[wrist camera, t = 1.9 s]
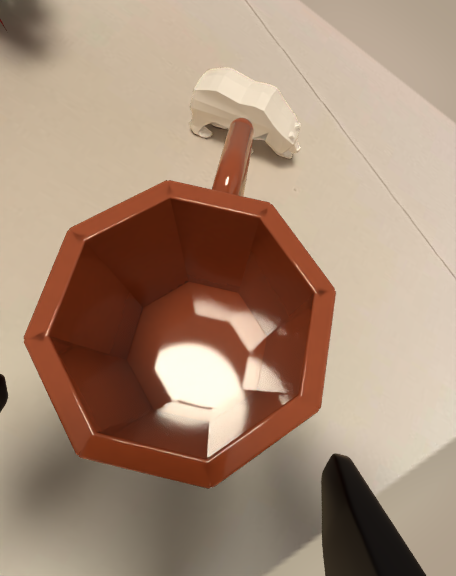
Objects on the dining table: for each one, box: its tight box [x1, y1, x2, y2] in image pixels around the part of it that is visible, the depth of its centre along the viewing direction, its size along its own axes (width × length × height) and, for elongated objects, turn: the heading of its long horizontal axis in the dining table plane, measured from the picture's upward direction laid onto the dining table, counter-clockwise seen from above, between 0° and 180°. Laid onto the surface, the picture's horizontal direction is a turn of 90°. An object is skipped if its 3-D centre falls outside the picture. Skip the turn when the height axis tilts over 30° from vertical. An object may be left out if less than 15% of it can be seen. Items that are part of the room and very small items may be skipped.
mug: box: [24, 117, 336, 489], centre depth 12 cm, size 11×7×8 cm, turn 167°
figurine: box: [189, 67, 301, 159], centre depth 22 cm, size 2×8×5 cm, turn 63°
